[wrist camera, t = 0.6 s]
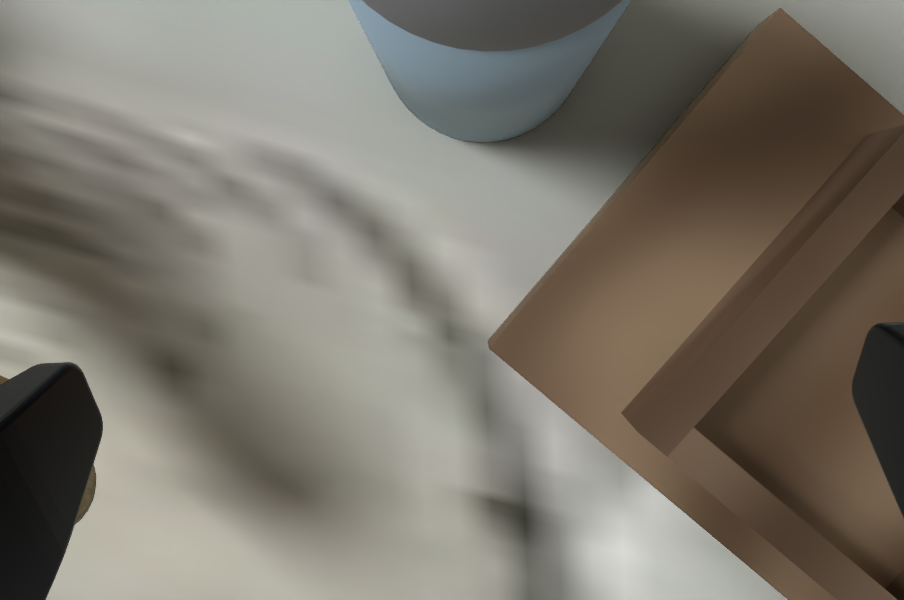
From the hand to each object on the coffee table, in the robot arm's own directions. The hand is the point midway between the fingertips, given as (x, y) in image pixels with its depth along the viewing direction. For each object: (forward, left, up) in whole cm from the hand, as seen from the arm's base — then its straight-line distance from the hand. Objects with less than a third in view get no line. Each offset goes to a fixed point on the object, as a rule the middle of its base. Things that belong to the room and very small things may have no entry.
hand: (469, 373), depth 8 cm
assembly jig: (-4, -11, -13) cm, 17 cm away
